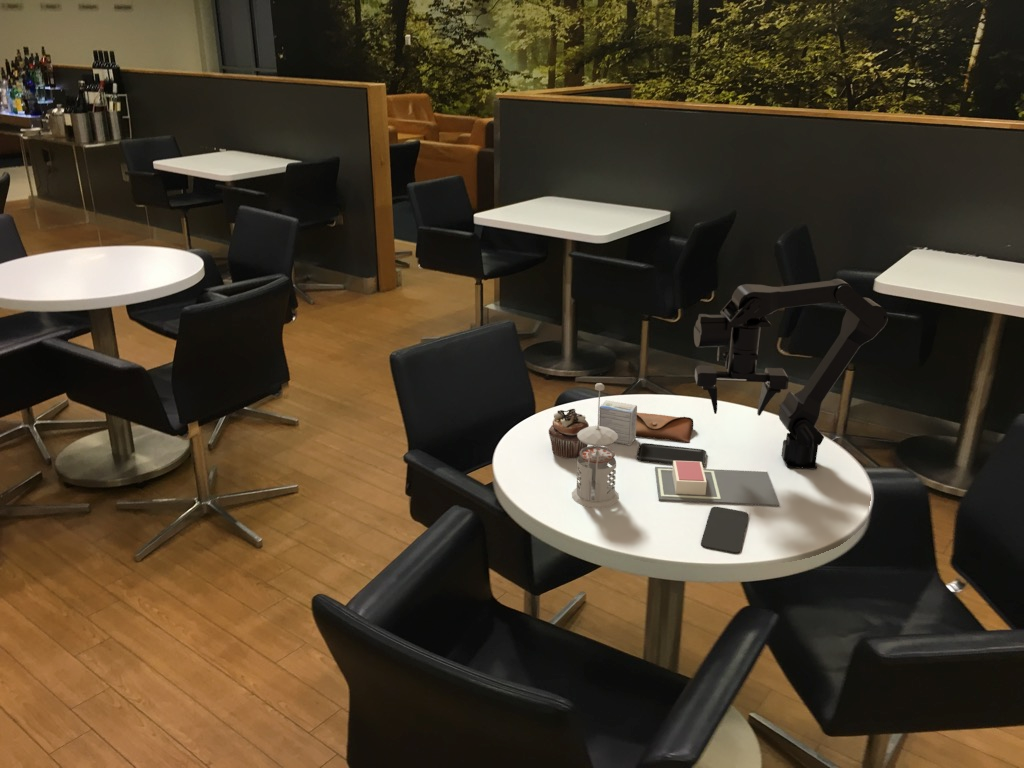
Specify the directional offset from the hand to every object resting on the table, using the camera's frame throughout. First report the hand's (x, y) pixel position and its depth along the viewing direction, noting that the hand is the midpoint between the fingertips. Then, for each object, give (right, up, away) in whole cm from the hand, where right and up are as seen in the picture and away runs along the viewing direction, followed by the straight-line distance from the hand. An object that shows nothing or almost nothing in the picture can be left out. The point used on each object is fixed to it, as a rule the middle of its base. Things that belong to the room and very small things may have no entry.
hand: (736, 413), depth 183 cm
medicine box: (-24, -7, +16) cm, 30 cm away
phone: (-8, -22, -20) cm, 31 cm away
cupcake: (-36, -9, +11) cm, 38 cm away
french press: (-32, -17, -9) cm, 37 cm away
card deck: (-11, -15, -5) cm, 19 cm away
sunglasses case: (-15, -6, +20) cm, 25 cm away
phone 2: (-13, -10, +8) cm, 18 cm away
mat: (-6, -15, -5) cm, 17 cm away
